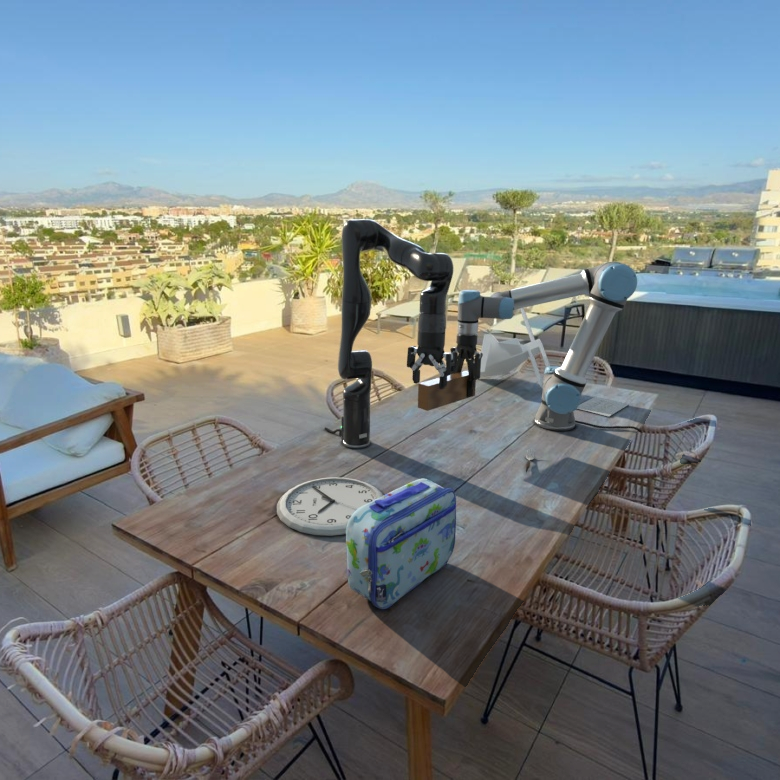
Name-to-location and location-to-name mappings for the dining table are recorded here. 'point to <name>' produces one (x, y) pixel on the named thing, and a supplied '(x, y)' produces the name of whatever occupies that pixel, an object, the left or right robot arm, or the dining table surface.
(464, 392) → the bar
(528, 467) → the fork
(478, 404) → the dining table surface
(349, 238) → the left robot arm
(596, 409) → the invitation card
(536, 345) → the white plastic object
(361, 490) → the wall clock
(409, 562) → the lunch box
